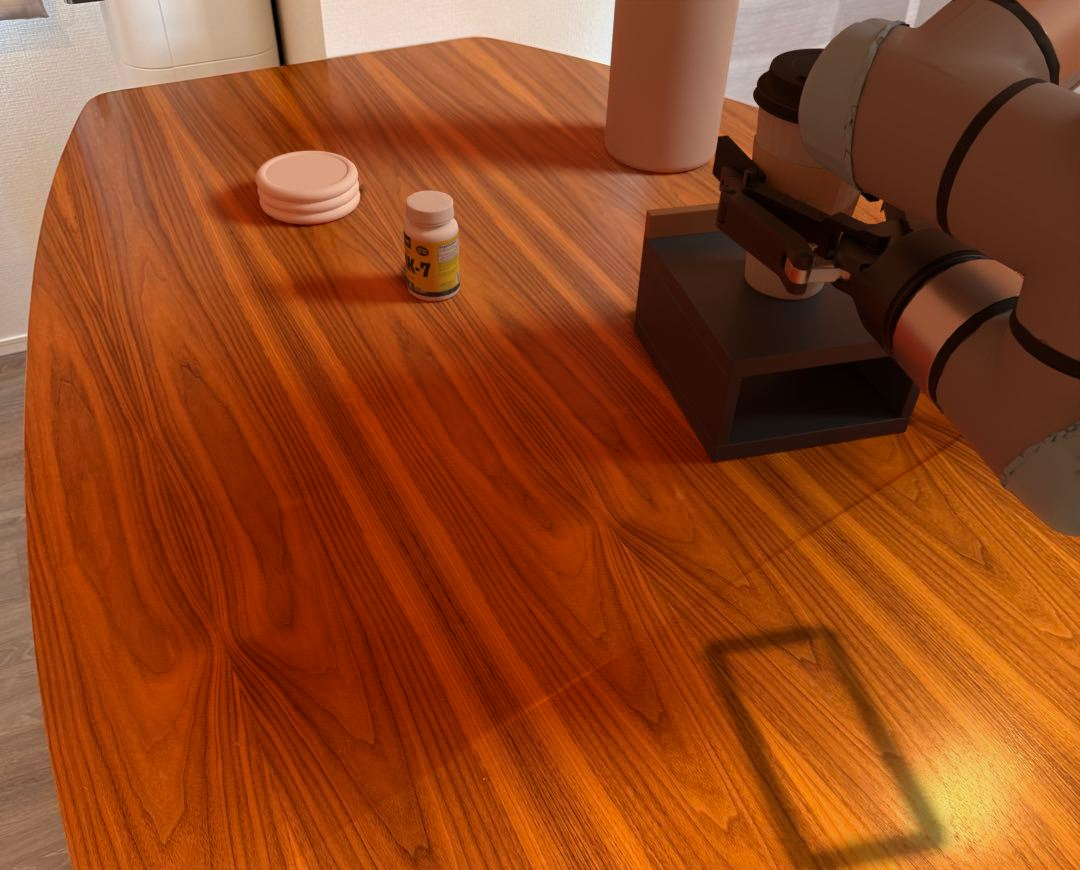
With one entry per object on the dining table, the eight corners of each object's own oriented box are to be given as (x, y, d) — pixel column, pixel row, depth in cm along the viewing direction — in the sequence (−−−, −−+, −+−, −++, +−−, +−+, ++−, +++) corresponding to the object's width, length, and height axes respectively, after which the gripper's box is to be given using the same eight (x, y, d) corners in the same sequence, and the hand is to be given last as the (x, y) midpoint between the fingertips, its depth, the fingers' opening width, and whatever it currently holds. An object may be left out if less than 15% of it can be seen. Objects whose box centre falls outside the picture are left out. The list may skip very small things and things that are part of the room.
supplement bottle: (396, 287, 88) (389, 198, 82) (436, 270, 90) (432, 182, 84) (431, 309, 85) (425, 219, 79) (471, 290, 88) (469, 201, 82)
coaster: (245, 220, 96) (238, 186, 93) (282, 177, 103) (276, 144, 100) (342, 232, 95) (338, 197, 92) (373, 187, 102) (369, 153, 99)
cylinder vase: (629, 120, 116) (652, -131, 98) (729, 142, 112) (772, -114, 94) (586, 160, 108) (602, -106, 90) (692, 185, 104) (731, -87, 86)
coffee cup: (714, 301, 70) (752, 86, 60) (728, 240, 77) (764, 37, 66) (847, 321, 69) (910, 105, 58) (850, 258, 75) (906, 52, 65)
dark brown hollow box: (905, 432, 75) (952, 306, 67) (712, 463, 72) (737, 335, 64) (802, 308, 87) (831, 190, 79) (633, 330, 84) (646, 209, 76)
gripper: (763, 394, 56) (634, 212, 71) (1080, 348, 60) (894, 186, 75) (791, 276, 50) (645, 107, 66) (1137, 234, 55) (924, 85, 70)
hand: (778, 149), depth 70 cm, fingers open, 8 cm apart
